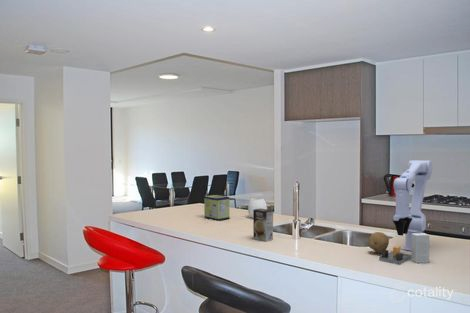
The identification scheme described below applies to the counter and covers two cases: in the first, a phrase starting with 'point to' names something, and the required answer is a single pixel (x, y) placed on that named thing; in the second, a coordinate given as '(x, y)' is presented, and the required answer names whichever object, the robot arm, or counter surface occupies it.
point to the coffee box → (263, 224)
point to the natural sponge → (378, 242)
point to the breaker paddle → (396, 250)
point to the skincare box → (420, 247)
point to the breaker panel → (394, 257)
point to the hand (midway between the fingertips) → (402, 234)
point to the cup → (256, 205)
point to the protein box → (216, 207)
